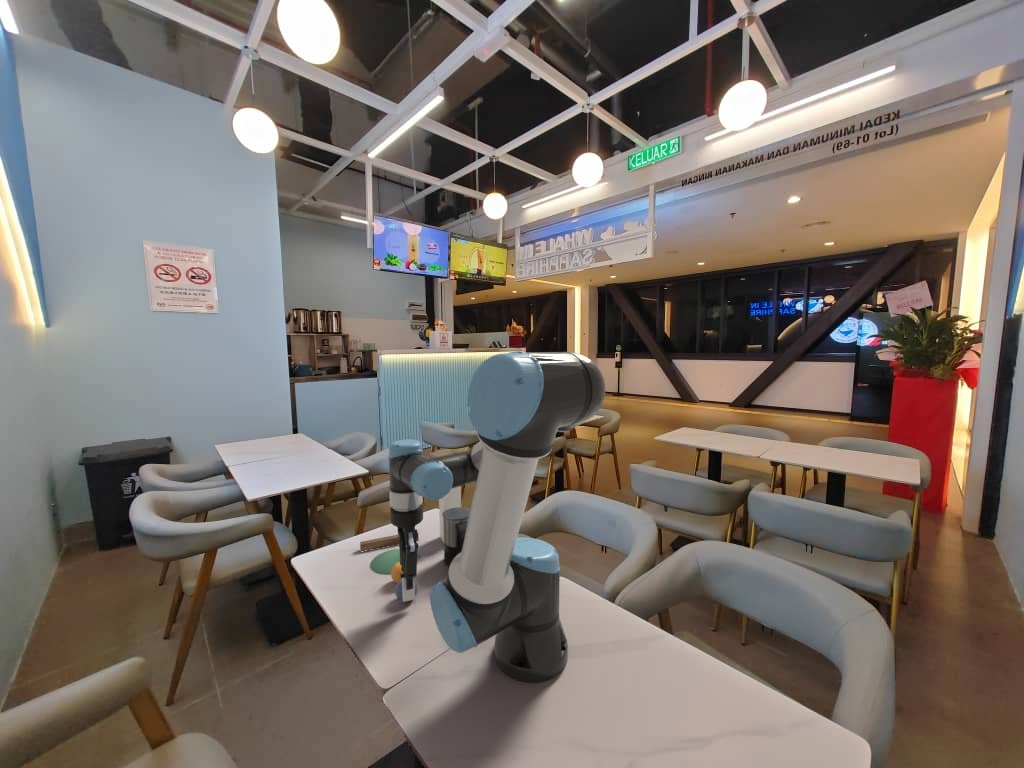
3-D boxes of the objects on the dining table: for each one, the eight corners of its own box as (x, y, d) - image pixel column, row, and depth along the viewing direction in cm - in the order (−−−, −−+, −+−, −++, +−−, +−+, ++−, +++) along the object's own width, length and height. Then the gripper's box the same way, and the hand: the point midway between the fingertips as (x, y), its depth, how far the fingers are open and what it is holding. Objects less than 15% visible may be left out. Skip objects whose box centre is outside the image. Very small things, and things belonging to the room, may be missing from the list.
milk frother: (437, 559, 119) (436, 511, 118) (480, 543, 129) (479, 498, 128) (463, 580, 108) (462, 528, 107) (507, 560, 118) (507, 512, 117)
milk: (461, 540, 130) (461, 476, 128) (443, 544, 128) (442, 478, 126) (456, 533, 136) (455, 470, 134) (439, 536, 134) (438, 473, 132)
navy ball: (418, 576, 99) (413, 572, 104) (395, 583, 96) (392, 578, 101) (421, 600, 98) (416, 594, 103) (398, 607, 95) (394, 601, 100)
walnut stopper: (418, 540, 131) (418, 533, 131) (360, 552, 123) (360, 544, 123) (417, 537, 133) (417, 530, 132) (360, 549, 125) (360, 542, 125)
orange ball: (414, 584, 106) (413, 565, 105) (393, 590, 104) (392, 570, 103) (410, 574, 111) (409, 555, 110) (390, 579, 109) (389, 560, 108)
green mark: (423, 566, 115) (423, 566, 115) (373, 578, 109) (372, 578, 109) (414, 545, 127) (414, 545, 127) (368, 555, 121) (368, 554, 121)
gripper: (429, 513, 89) (430, 610, 92) (416, 493, 101) (418, 580, 103) (394, 519, 86) (397, 620, 88) (386, 498, 98) (388, 587, 100)
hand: (408, 598), depth 96 cm, fingers closed
